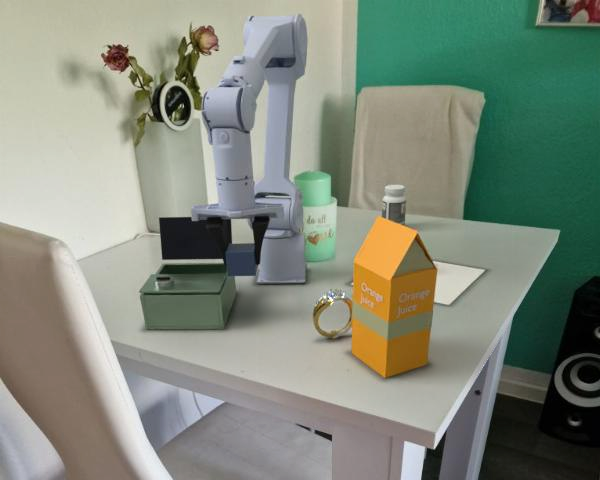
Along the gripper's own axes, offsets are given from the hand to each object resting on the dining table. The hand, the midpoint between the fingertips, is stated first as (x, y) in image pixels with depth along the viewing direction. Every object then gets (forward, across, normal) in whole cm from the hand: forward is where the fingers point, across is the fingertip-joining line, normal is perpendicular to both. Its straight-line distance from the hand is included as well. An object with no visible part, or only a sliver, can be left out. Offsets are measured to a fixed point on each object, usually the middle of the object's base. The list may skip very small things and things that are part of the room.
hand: (242, 262), depth 92 cm
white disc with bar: (+3, -9, -3) cm, 10 cm away
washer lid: (-1, -10, +11) cm, 14 cm away
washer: (+9, -10, +2) cm, 14 cm away
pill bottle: (+10, +31, +50) cm, 59 cm away
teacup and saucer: (+10, +32, +17) cm, 38 cm away
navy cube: (+1, 0, 0) cm, 1 cm away
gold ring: (+10, +15, -9) cm, 20 cm away
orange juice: (+10, +23, -16) cm, 30 cm away
